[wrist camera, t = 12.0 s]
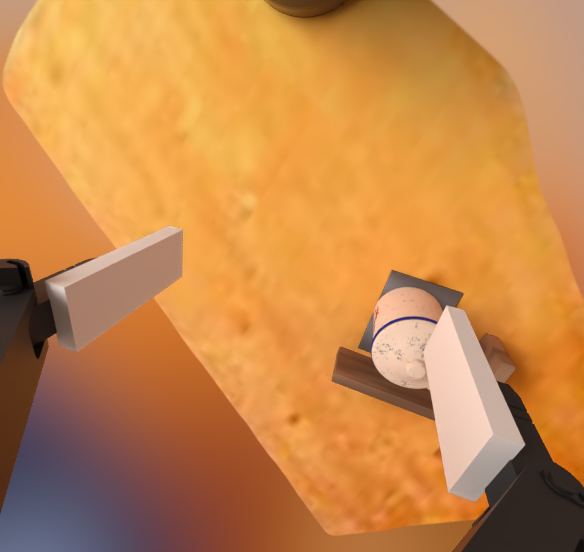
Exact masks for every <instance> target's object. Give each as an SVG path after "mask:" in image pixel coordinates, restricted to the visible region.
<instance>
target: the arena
mask: <svg viewBox="0 0 584 552" xmlns="http://www.w3.org/2000/svg"><path fill="white" fill-rule="evenodd" d="M402 287H414V288H419V289H422V290H424V291H426V292H428V293H430V294H431V295H432V296H434V297H435V298H436V300H437V301H438V302H439V304H440V306H441V308H442V311H444V309H445V307H446V305H448V306H451V307H456V305H457V303H458V301H459V300H460V298H461V296H462V294H463V293H461V292H458V291H455V290H452V289H449V288H446V287H443V286H440V285H437V284H434V283H430V282H427V281H424V280H421V279H418V278H415V277H412V276H409V275H406V274H403V273H400V272H397V271H394V270H392V271H391V273H390V276H389V278H388V280H387V283H386V285H385V287H384V289H383V292H382V294H381V296H380V298H381V297H382V296H383V295H385V294H386V293H388V292H389V291H391V290H394V289H397V288H402ZM379 300H380V299H379ZM373 318H374V312H373V315H372V317H371V319H370V321H369V324H368V326H367V328H366V331H365V333H364V335H363V338H362V340H361V342H360V344H359V347H358V348H359V349H362V350H365V351H368V352H370V353H371V343H372V340H373ZM479 344H480V346H481V348H482V350H483V353H484V355H485V357H486V359H487V361H488V364H489V366H490V368H491V370H492V372H493V375H494V377H495V379H496V381H499V382H502V383H505V382H506V381H507V380H508V378H509V377H510V376H511V374H512V373H513V372H514V370H515V369H516V366H515V365H514V363H513V361H512V360H511V358H510V357H509V355H508V353H507V352H506V350H505V349H504V347H503V345H502V344H501V342H500V341H499V339H498V337H495V336H492V335H489V334H485V335H484V337H483V338H482V340H481V341H480V343H479ZM332 382H335V383H338V384H340V385H343V386H345V387H348V388H351V389H353V390H356V391H358V392H361V393H364V394H366V395H369V396H372V397H374V398H377V399H379V400H382V401H385V402H387V403H390V404H392V405H395V406H398V407H400V408H403V409H406V410H408V411H411V412H413V413H416V414H419V415H421V416H424V417H426V418H429V419H432V420H434V421H435V415H434V410H433V404H432V399H431V393H430V390H428V389H427V388H421V389H414V388H407V387H402V386H399V385H397V384H394V383H393V382H391V381H389V380H388V379H386V378H385V377H384V376H383V375H382V374H381V373H380V372H379V371H378V370H377V368H376V366H375V365H374V363H373V361H372V358H370V357H367V356H364V355H362V354H359V353H356V352H354V351H351V350H348V349H345V348H343V347H339V350H338V352H337V356H336V361H335V366H334V371H333V376H332Z"/></svg>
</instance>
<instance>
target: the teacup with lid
mask: <svg viewBox="0 0 584 552" xmlns="http://www.w3.org/2000/svg"><path fill="white" fill-rule="evenodd" d="M442 313H443V311H442V308H441V306H440V304H439V302H438V301H437V300H436V298H435V297H434V296H432V295H431V294H430V293H428V292H426V291H424V290H422V289H419V288H414V287H402V288H397V289H394V290H391V291H389V292H388V293H386V294H385V295H383V296H382V297H381V298H380V300H379V301H378V302H377V304H376V306H375V309H374V318H373V340H372V343H371V357H372V361H373V363H374V365H375V366H376V368H377V370H378V371H379V372H380V373H381V374H382V375H383V376H384V377H385V378H386V379H388V380H389V381H391V382H393V383H394V384H397V385H399V386H402V387H407V388H414V389H421V388H427V389H428V390H430V388H429V382H428V376H427V371H426V365H425V360H424V354H423V351H424V349H425V347H426V345H427V343H428V341H429V339H430V337H431V335H432V333H433V331H434V329H435V327H436V325H437V323H438V321H439V319H440V317H441V315H442Z"/></svg>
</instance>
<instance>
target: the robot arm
mask: <svg viewBox="0 0 584 552" xmlns="http://www.w3.org/2000/svg"><path fill="white" fill-rule="evenodd" d="M265 1H266V2H267V3H268V4H269V5H271V6H272V7H273V8H275V9H277V10H278V11H280V12H282V13H285V14H288V15H291V16H297V17H312V16H317V15H321V14H324V13H327V12H329V11H331V10H333V9H335V8H337V7H339V6H340V5H342V4H343V3H345V2H346V1H347V0H265ZM182 249H183V230H182V229H179V228H175V227H172V226H168V227H166V228H164V229H161V230H159V231H157V232H155V233H152V234H150V235H148V236H145V237H143V238H141V239H139V240H136V241H134V242H132V243H130V244H127V245H125V246H123V247H121V248H118V249H116V250H114V251H112V252H109V253H107V254H105V255H102V256H100V257H97V258H93V259H88V260H85V261H82V262H80V263H78V264H76V265H75V266H71V267H69V268H66V270H62V271H59V272H57V273H55V274H52V275H50V276H48V277H46V278H43V279H41V280H39V281H36V282H34V283H33V279H32V275H31V271H30V267H29V264H28V263H27V262H26V261H23V260H19V259H0V513H1V509H2V506H3V502H4V499H5V495H6V492H7V488H8V485H9V482H10V478H11V475H12V471H13V468H14V464H15V461H16V457H17V454H18V451H19V447H20V444H21V440H22V436H23V433H24V430H25V426H26V423H27V419H28V416H29V413H30V409H31V406H32V402H33V399H34V395H35V392H36V388H37V385H38V381H39V378H40V375H41V371H42V368H43V364H44V361H45V357H46V353H47V350H48V340H47V338H49V337H50V336H52V335H53V334H55V333H56V334H57V338H58V343H59V346H61V347H64V348H67V349H69V350H72V351H75V352H78V351H79V350H81V349H82V348H84V347H85V346H86V345H88V344H89V343H91V342H92V341H93V340H95V339H96V338H97V337H99V336H100V335H102V334H103V333H104V332H106V331H107V330H109V329H110V328H111V327H113V326H114V325H115V324H117V323H118V322H120V321H121V320H122V319H124V318H125V317H127V316H128V315H129V314H131V313H132V312H134V311H135V310H136V309H137V308H139V307H140V306H142V305H143V304H145V303H146V302H147V301H149V300H150V299H152V298H153V297H154V296H156V295H157V294H159V293H160V292H161V291H163V290H164V289H165V288H167V287H168V286H170V285H171V284H172V283H174V282H175V281H177V280H178V279H179V278H181V277H182ZM423 354H424V360H425V365H426V371H427V376H428V382H429V388H430V393H431V399H432V404H433V410H434V415H435V421H436V427H437V432H438V438H439V443H440V449H441V454H442V460H443V466H444V471H445V477H446V482H447V488H448V492H449V493H452V494H454V495H457V496H460V497H462V498H465V499H468V500H470V501H473V502H476V501H477V500H478V498H479V497H480V496H481V495H482V494H483V493H484V492H485V493H486V496H487V500H488V503H489V507H488V508H487V509H486V510H485V511H484V512H483V513H482V515H481V516H480V517H479V518H478V519H477V520H476V521H475V522H474V523H473V524H472V528H471V529H470V530H469V531H468V533H467V534H466V535H465V536H464V538H463V539H462V540H461V541H460V543H459V544H458V545H457V546H456V548H455V549H454V550H453V551H452V552H584V487H583V486H582V484H581V483H580V482H579V481H578V480H577V479H576V478H575V477H574V476H573V475H572V474H571V473H569V472H568V471H567V470H565V469H564V468H562V467H561V466H559V465H558V464H556V463H554V462H553V461H552V459H551V457H550V455H549V453H548V451H547V449H546V447H545V445H544V443H543V441H542V439H541V437H540V435H539V433H538V431H537V429H536V427H535V425H534V424H532V420H531V418H530V416H529V414H528V413H527V412H526V411H527V410H526V408H525V406H524V404H523V402H522V400H521V398H520V397H519V396H518V395H517V393H516V392H515V391H514V390H513V389H512V388H511V387H510V386H509V385H508V384H506V383H502V382H499V381H496V379H495V377H494V375H493V372H492V370H491V368H490V366H489V364H488V361H487V359H486V357H485V355H484V353H483V350H482V348H481V346H480V344H479V341H478V339H477V337H476V335H475V333H474V330H473V328H472V326H471V324H470V322H469V319H468V317H467V315H466V313H465V310H462V309H458V308H455V307H451V306H448V305H446V307H445V309H444V311H443V313H442V315H441V317H440V319H439V321H438V323H437V325H436V327H435V329H434V331H433V333H432V335H431V337H430V339H429V341H428V343H427V345H426V347H425V349H424V351H423Z"/></svg>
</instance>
